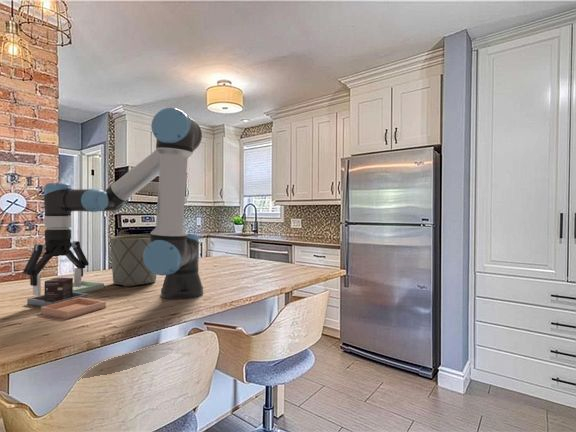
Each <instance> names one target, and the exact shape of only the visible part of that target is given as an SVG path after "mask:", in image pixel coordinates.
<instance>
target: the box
mask: <svg viewBox="0 0 576 432" xmlns="http://www.w3.org/2000/svg"><path fill="white" fill-rule="evenodd" d="M73 283H74V278H73V277H54V278H50V279H47V280H44V291H43V292H44V294H43V295H44V301H48V302H55V301H59V300H64V299H68V298H72V296H73Z"/></svg>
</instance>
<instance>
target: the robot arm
mask: <svg viewBox="0 0 576 432" xmlns="http://www.w3.org/2000/svg"><path fill="white" fill-rule="evenodd" d="M150 124H151V125H150V126H151V128H150V129H151V133H152V134H153V136H154V138H155V139H156V140H155V141H156V143H155V150H154V151H153V152H151V153H150V154H148V156H146V157H145V158H144V159H142V160H141V161H140V162H139V163H138V164H136V165H135V166H134V167H132V169H130V170H129V171H127V172H126V173H124V175H122V176H121V177H120V178H119V179H117V180H116V181H115V182H114V183H112V184H111V185H109V187H107V188H106V189H104V190H102V189H97V188H89V189H87V188H85V189H80V188H79V189H73V188H72V185H71V184H69V183H65V182H63V183H62V182H47V183H45V185H44V193H43V202H44V204H43V205H44V228H45V230H44V241H45V242H44V244H38V243H36V244H34V246H33V251H32V254H30V258H29V260H28V261H27V263H26V266H25V267H24V269H23V272H22V274H23V275H27V276H29V284H30V287H31V286H32V296H34V297H37V296H42V295H41V294H42V293H41V292H42V291H41V290H42V287H41V286H42V285H41V284H42V283H41V280H42V279H41V278H42V277H41V275H40V272H41V271H42V270H43V268H45V266H46V265H47V264H48V263H49V261H50V259H52V258H53V257H59V256H60V257H61V256H65V257H66V258H67V259H68V260H69V261H70V262H71V264H73V266H75V268H74V269H73V273H74V274H73V275H74V276H73V277H74V278H73V283H74V286H75V287H81V281H82V278H83V276H84V269H85V268H86V266H89V264H90V263H89V261H88V259H87V257H86V255H85V253H84V251H83V249H82V246H81V242H80V241H76V240H73V241H71V240H72V229H71V227H72V212H87V213H88V212H91V213H97V212H111V213H112V212H117V211H121V209H123V208H124V206H125V204H126V202H127V200H129V199H130V198H131V197H133V196H134V195H136V193H138V192H139V191H140V190H142V189H143V188H144V187H145V186H147V185H148V184H149V183H150V182H152V181H153V180H155V179H156V178H157V177H158V187H157V188H158V190H157V203H156V204H157V205H156V219H155V220H156V221H155V228H154V229H153V230H152V231H150V233H149V235H150V243H149V244H148V245H147V247H146V248H145V250H144V253H143V260H144V264H145V266H146V267H147V268H148V269H149V270H150V271H151V272H152V273H154V274H156V276H165V277H164V281H163V284H162V287H161V289H160V296H161V297H162V298H164V299H167V300H168V299H169V300H186V299H194V298H197V297H200V296H202V295H203V294H204V287H203V284H202V281H201V277H200V273H199V259H200V258H199V254H200V253H199V246H200V241H199V235H198V234H196V233H188V232H186V231H185V230H184V219H185V216H184V215H185V203H186V202H185V201H186V189H187V188H186V187H187V184H186V183H187V172H188V159H189V158H190V157H191V156H192V155H193V154H194V152H195V150H196V149H198V147H199V146H200V144H201V143H202V138H203V133H202V129H201V127H200V125H199V124H198V123H197V122H196V120H194V119H192V118H191V117H190V116H189V115H188V114H187V113H186V112H185V111H183V110H180V109H178V108H175V107H166V108H163V109H161V110H160V111H158V112H157V113H156V114H155V115H154V116H153V118H152V120H151V123H150ZM71 248H72V249H73V251H72V250H71ZM43 251H44V253H43ZM73 252H74V253H75V254H74V253H73ZM42 253H43V255H42ZM41 255H42V257H41ZM75 255H76V256H75Z"/></svg>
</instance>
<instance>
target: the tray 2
mask: <svg viewBox="0 0 576 432" xmlns="http://www.w3.org/2000/svg"><path fill="white" fill-rule="evenodd" d="M103 289H105V283H102V282H97V281H88V280H81V287H75V286H74V282H73V292H78V293H84V294H88V293H90V292H94V291H100V290H103Z"/></svg>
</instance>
